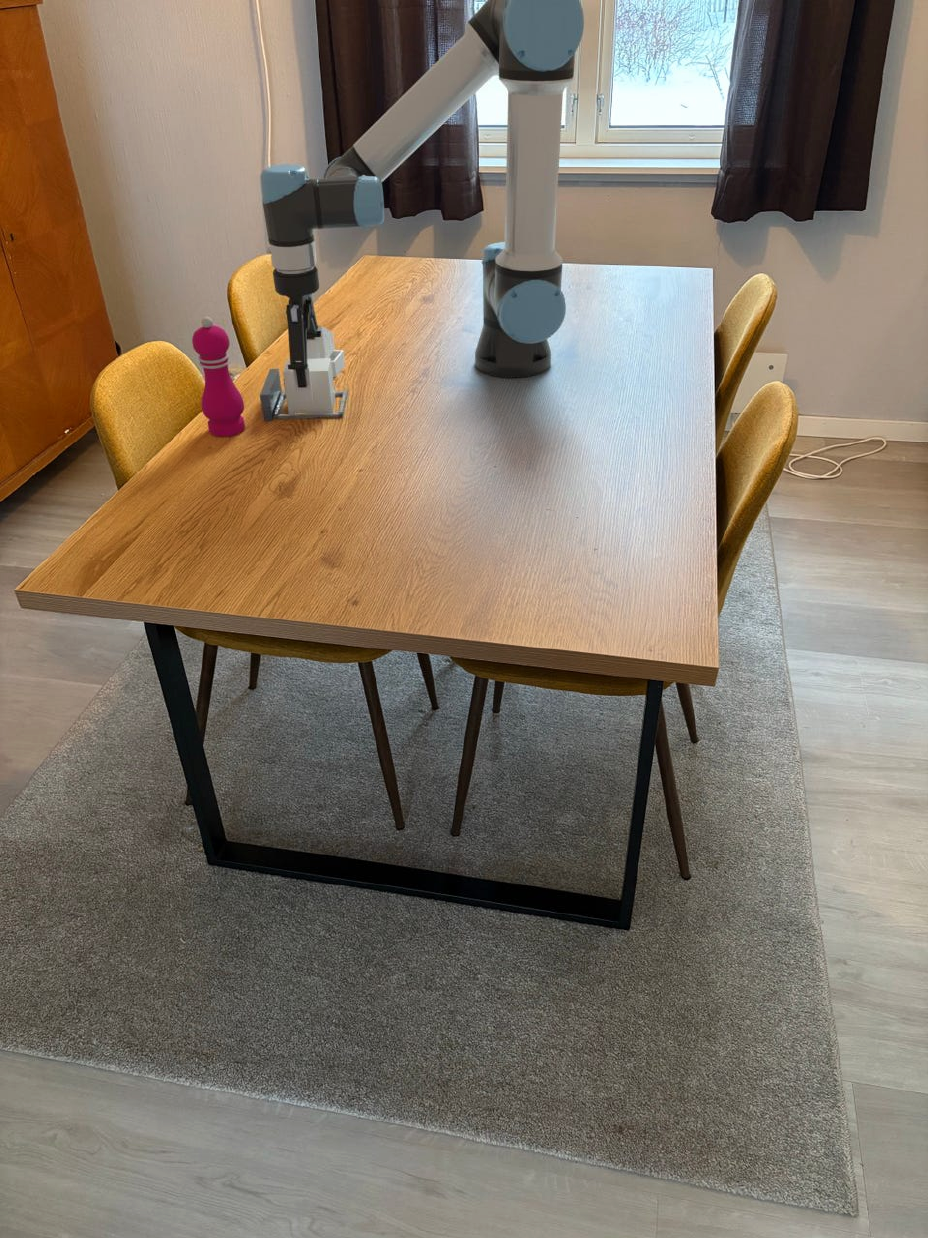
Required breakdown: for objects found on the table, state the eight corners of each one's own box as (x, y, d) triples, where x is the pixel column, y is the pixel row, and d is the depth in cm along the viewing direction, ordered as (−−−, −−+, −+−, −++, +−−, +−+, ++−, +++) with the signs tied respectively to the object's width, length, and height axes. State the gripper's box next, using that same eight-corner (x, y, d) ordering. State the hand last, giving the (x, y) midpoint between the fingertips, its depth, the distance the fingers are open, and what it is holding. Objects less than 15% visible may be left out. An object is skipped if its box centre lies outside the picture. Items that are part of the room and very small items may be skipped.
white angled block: (310, 372, 180) (312, 325, 178) (327, 379, 189) (329, 335, 188) (328, 373, 179) (331, 326, 178) (344, 380, 189) (347, 335, 188)
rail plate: (348, 392, 178) (345, 366, 175) (342, 419, 168) (339, 392, 165) (273, 394, 178) (269, 368, 175) (263, 421, 168) (259, 394, 165)
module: (335, 399, 175) (330, 357, 171) (332, 412, 171) (327, 370, 166) (291, 400, 175) (286, 359, 170) (287, 414, 170) (281, 372, 166)
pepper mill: (255, 423, 167) (236, 311, 155) (234, 440, 162) (213, 326, 150) (220, 418, 169) (198, 308, 157) (198, 435, 164) (175, 322, 152)
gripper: (282, 247, 168) (298, 362, 181) (260, 291, 148) (279, 416, 161) (324, 246, 168) (336, 361, 181) (308, 289, 148) (323, 415, 161)
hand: (310, 387), depth 171 cm, fingers open, 13 cm apart
